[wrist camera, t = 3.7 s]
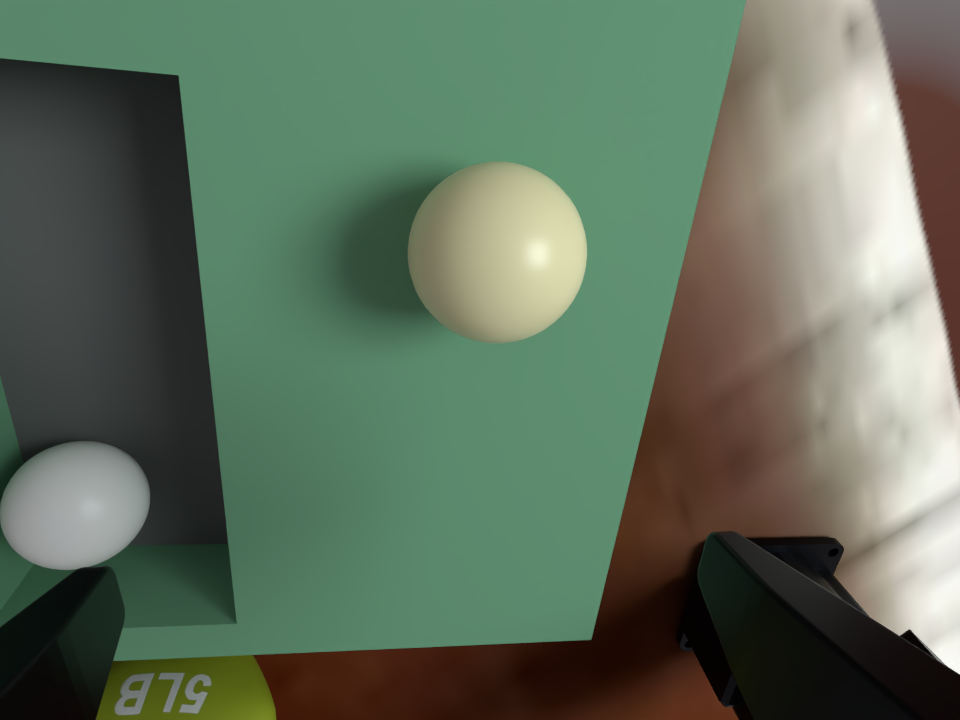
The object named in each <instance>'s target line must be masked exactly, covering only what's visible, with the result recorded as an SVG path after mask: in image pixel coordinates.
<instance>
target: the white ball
mask: <svg viewBox="0 0 960 720" xmlns="http://www.w3.org/2000/svg"><path fill="white" fill-rule="evenodd" d="M149 507H150V488H149V483H148V480H147V477H146V475H145V473H144V471H143V470H142V468H141V467H140V465H139V464H138V463H137V462H136V461H135V459H133V458H132V457H131V456H130V455H129V454H127V453H126V452H124V451H123V450H121V449H119V448H117V447H115V446H112V445H109V444H105V443H101V442H95V441H74V442H68V443H63V444H59V445H56V446H53V447H51V448H48V449H46V450H44V451H42V452H40V453H38V454H37V455H35V456H34V457H32V458H31V459H29V460H28V461H27V462H26V463H24V464H23V465H22V466H21V467H20V468H19V469H18V470H17V472H16V473H15V474H14V475H13V477H12V478H11V479H10V481H9V483H8V485H7V486H6V488H5V490H4V493H3V496H2V500H1V503H0V523H1V528H2V531H3V534H4V536H5V538H6V540H7V541H8V543H9V544H10V546H11V547H12V548H13V549H14V550H15V551H16V552H17V553H18V554H19V555H20V556H22V557H23V558H25V559H26V560H28V561H30V562H32V563H34V564H36V565H39V566H42V567H45V568H50V569H57V570H73V569H79V568H82V567H90V566H93V565H96V564H99V563H101V562H103V561H106V560H108V559H109V558H111V557H113V556H115V555H116V554H117V553H119V552H120V551H122V550H123V549H124V548H125V547H126V546H127V545H128V544H129V543H130V542H131V541H132V540H133V539H134V538H135V537H136V535H137V534H138V533H139V531H140V530H141V528H142V526H143V524H144V522H145V520H146V518H147V515H148V511H149Z"/></svg>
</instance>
